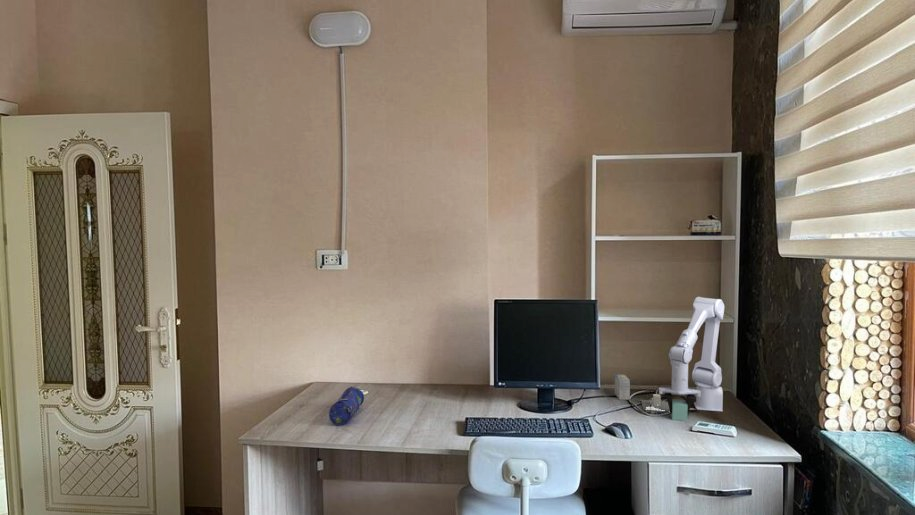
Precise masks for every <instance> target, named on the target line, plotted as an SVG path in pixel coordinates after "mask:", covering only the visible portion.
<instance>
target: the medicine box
mask: <svg viewBox="0 0 915 515" xmlns="http://www.w3.org/2000/svg"><path fill="white" fill-rule="evenodd" d="M630 381H631V380H630V378H628V376H626V374H615V375H614V395H615V396H616V397H617V398H618V400H622V401H630V400H631V399H630V398H631V397H630V396H631V395H630V393H631V391H630V389H631V388H630V386H631V383H630Z"/></svg>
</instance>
